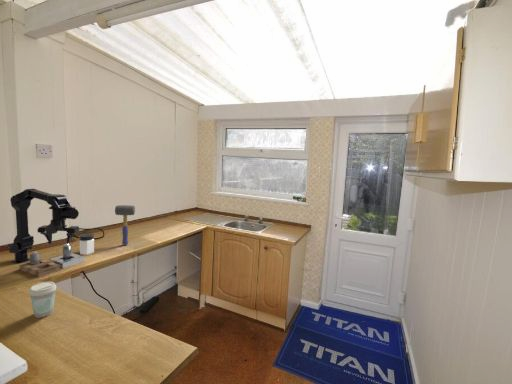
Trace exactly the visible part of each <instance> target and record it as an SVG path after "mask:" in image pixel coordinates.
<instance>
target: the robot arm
mask: <svg viewBox="0 0 512 384" xmlns="http://www.w3.org/2000/svg"><path fill="white" fill-rule="evenodd" d="M34 199H37V200H40V201H43V202H45V203H47V204H48V205H50V206H49V207H48V210H51V213H52V215H51V216H52V218H51V219H50V223H49V224H47V225H45V224H44V225H42V226H39V227H38V228H37V230H36V231H37V233H40V235H43V236H44V237H45V238H46V240H47V242H48V244H49V245H51V244H52V242H53V234H57V233H58V232H66V233H65V234H66V244H69V245H70V242H71V240H72V239H73V237H74V235H75V234H76V233H78V232H80V226H78V225H71V226H68V225H66V220H67V219H69V220H75V219H77V218H78V217H79V214H80V213H79V211H78V209H77V208H76V206H72V204H71V202H70V201H69V200H68V198H67V195H65V194H58V193H57V194H56V193H55V194H53V193H49V192H46V191H42V190H39V189H36V188H26V189H23V191H21V192H19V193H16V194H15V195H12V196H11V197H10V199H9V200H10V204H11V205H10V206H11V207H12V208H13V209H14V210H15V222H16V236H15V237H14V239H13V244H12V245H11V246H10V247H9V248H8V251H9V253H12V254H14V259H12V260H11V262H13V263H16V264H22V263H26V262H29V261H30V257H29V256H28V253H29V252H28V250H32V248H33V245H34V243H35V241H34V236H33V235H31V234H30V233H29V219H28V218H29V215H28V210H29V208H30V206H31V204H32V203H31V202H32V201H33V200H34Z"/></svg>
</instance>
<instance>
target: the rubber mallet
mask: <svg viewBox="0 0 512 384" xmlns="http://www.w3.org/2000/svg"><path fill="white" fill-rule="evenodd" d="M114 213H115V215H116V216H123V217H122V219H123V221H122V225H123V226H122V232H121V233H122V234H121V235H122V246H127V245H128V244H129V238H128V237H129V236H128V235H129V227H128V216H134V215H135V213H136V207H135V205H130V204H129V205H128V204H126V205H125V204H124V205H121V204H120V205H119V204H118V205H116V206H115V208H114Z"/></svg>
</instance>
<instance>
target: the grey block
mask: <svg viewBox="0 0 512 384" xmlns="http://www.w3.org/2000/svg"><path fill="white" fill-rule="evenodd" d="M71 253H72V245H70V243H69V244H67V243H64V245H63V246H62V255H63V260H68V259H71Z"/></svg>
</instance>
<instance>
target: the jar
mask: <svg viewBox="0 0 512 384" xmlns="http://www.w3.org/2000/svg"><path fill="white" fill-rule="evenodd" d="M78 237H79V238H78V239H79V255H80V256H83V255H84V256H85V255H86V256H89V255H91V254H93V253H94V254H95V234H94V233H83V234H80V235H78Z"/></svg>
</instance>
